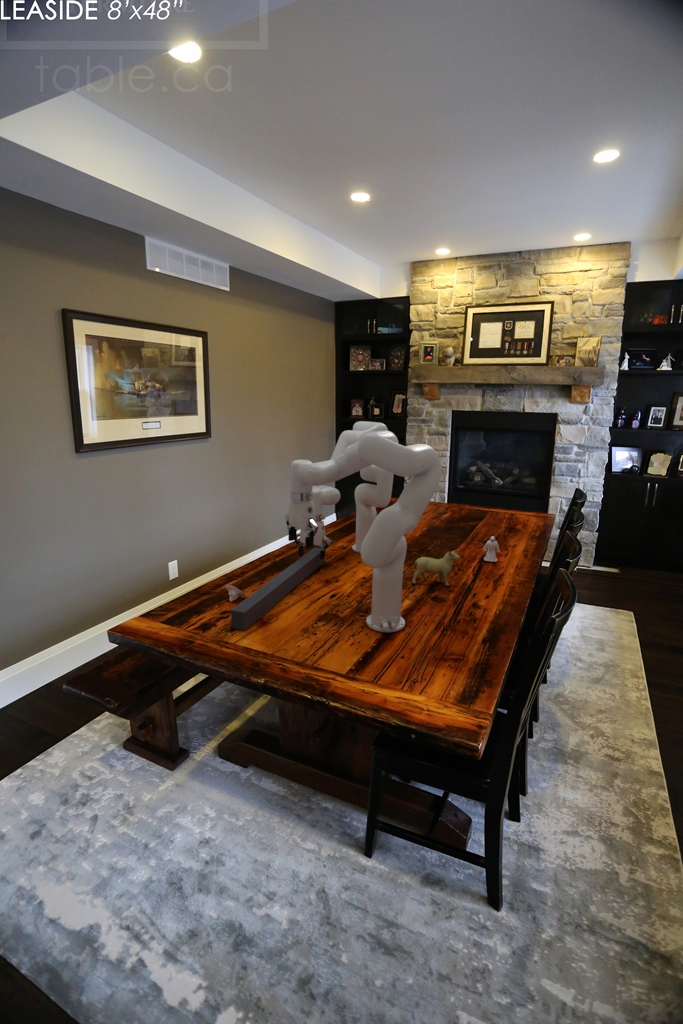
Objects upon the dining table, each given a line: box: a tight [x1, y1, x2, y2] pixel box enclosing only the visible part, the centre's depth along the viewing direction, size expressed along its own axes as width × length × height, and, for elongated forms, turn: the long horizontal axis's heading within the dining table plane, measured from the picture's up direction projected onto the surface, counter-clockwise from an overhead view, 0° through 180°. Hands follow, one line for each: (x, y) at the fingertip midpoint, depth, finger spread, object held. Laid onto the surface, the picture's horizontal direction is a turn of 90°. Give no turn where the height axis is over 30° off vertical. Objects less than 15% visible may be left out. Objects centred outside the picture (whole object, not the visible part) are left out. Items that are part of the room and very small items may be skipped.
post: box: [230, 547, 325, 631], centre depth 188 cm, size 68×5×6 cm, turn 160°
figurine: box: [482, 535, 501, 563], centre depth 223 cm, size 8×8×12 cm
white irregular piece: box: [224, 584, 247, 602], centre depth 178 cm, size 8×5×8 cm
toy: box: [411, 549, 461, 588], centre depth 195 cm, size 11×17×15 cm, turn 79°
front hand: (300, 543), depth 175 cm, fingers open, 9 cm apart
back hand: (311, 557), depth 211 cm, fingers open, 9 cm apart
